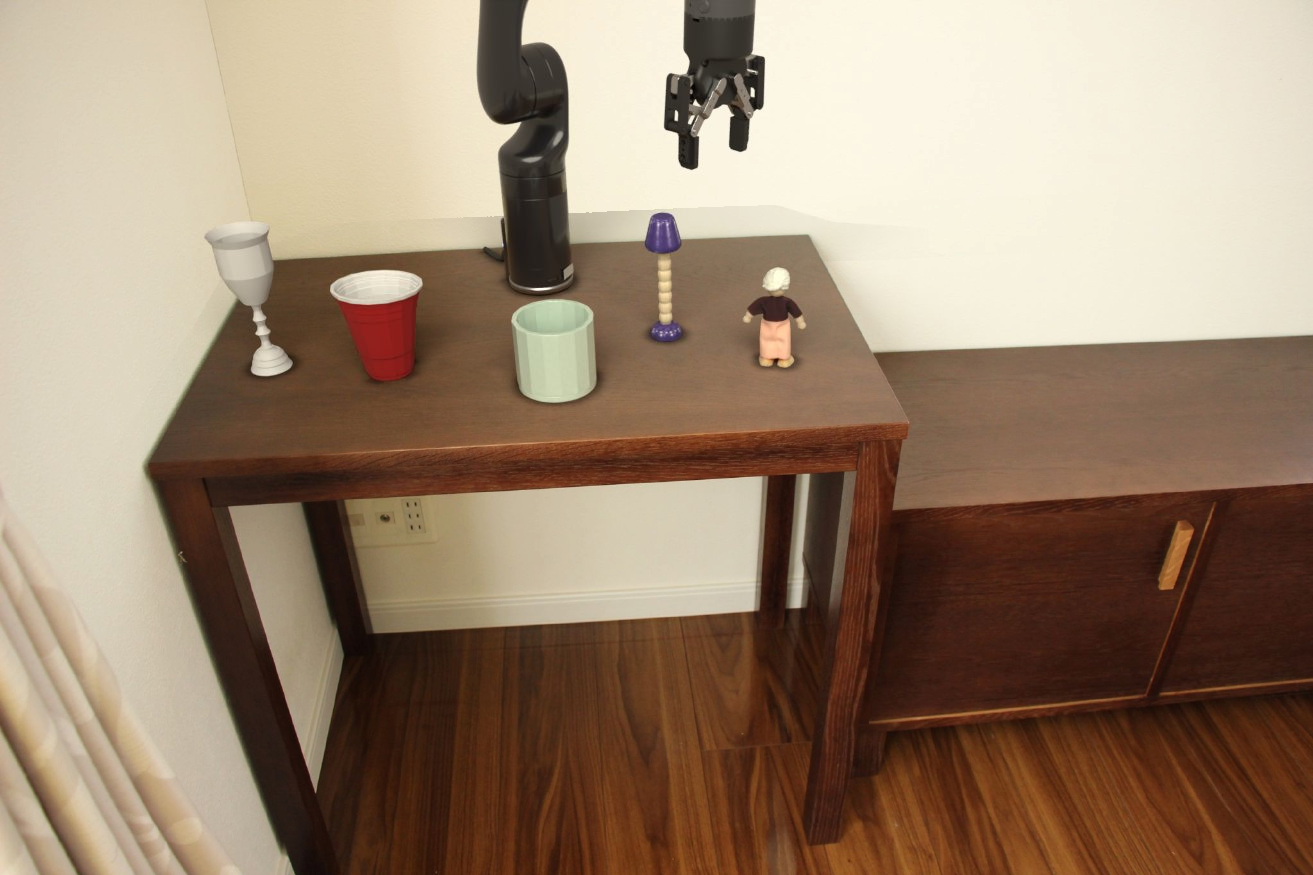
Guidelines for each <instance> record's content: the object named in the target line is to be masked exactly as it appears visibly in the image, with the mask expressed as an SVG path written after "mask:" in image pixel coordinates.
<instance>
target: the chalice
mask: <svg viewBox="0 0 1313 875" xmlns="http://www.w3.org/2000/svg"><path fill="white" fill-rule="evenodd" d="M269 232H270V225H269V224H268V223H266V222H262V221H254V220H251V221H250V220H249V221H248V220H247V221H244V220H243V221H237V222H230V223H225V224H222V225H218V226H215V227H213V228H212V229H209V230H208V231H206V233H204V235H203V236H204V237H203V238H204V239H205V241H206V242H208V244H209V245H210V246H211V250H212V253H213V256H214V260H215V264H216V267H217V270H218V274H219V277H220V278H221V279H222V281H223V283H224V284H225V285H226V286H227V288H228V289H229V290H230V291H231V292H232V293H233V295H234V296H235V297H236V298H237V299H238V300H239V301H240V302H241V303H242V304H243V305H244V306H248V307H251V310H253V317H252V321H253V322H254V323H255V325H256V326H257V328H256V329H257V330H256V332H255V335H256V336H258V338H259V339H260V341H261V343H260V344H261V345H260V347H258V348H257V349H256V350H255V352H254V353H253V358H252V361H251V363H252V364H251V367H250V372H251V373H252V374H253V375H256V376H260V377H270V376H271V377H272V376H276V375H280V374H283V373H285V372H286V371H288V370H290V369H291V368H292V366H293V365H294V364H293V360H292V359H291V358H290V357H289V355H288V354H287V353H286V352H285V350H284V349H283V348H282V347H280V346H278V345H275V344H273V343H272V342H271V340H270V334H271V329H269V328H268V327H267V325H266V319H267V316H266V315H265V314H264V312H263V310H262V304H264V303H265V302H267V301H268V298H269V296H270V291H271V288H272V285H273V279H274V270H275V263H274V258H273V256H272V251H271V247H270V243H269V239H268V238H269Z"/></svg>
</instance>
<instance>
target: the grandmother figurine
mask: <svg viewBox="0 0 1313 875" xmlns="http://www.w3.org/2000/svg"><path fill="white" fill-rule="evenodd" d="M790 284H791V275H790V272H789V271H788V270H787V269H786V268H784V267H779V266H777V267H773V268H771V269H769V270H768V271H767V272H766V274H765V275H764V277H763V279H762V285H761V287H762V288H764V289H765V290H766V292H767V293H768V294H769V295H763V296H761V297H758V298H757V299H755V300H754V301H752V302H751V304H749V306H747V308H746V312H745V315H744V316H743V317H742V321H743V323H745V324H750V323H751V321H752V319H753V318H754V317H755V316H759V315H762V317H761V320H760V327H759V357H758V362H759V365H760V366H761V367H771V366H773V364H774V362H775V359H778V360H777V363H776V365H777V367H779V368H789V367H791V365H793V364H794V362H795V358H794V356H793V355H792V354H791V351H792V350H791V348H792V342H791V341H792V340H791V339H792V338H791V337H792V336H791V335H792V334H791V321H790V317H789V315H791V317H792V318H793V319H794V320H795V323H796V324H797V328H798V330H800V331H803V330H805V329H806V328H807V324H806V322H805V319H804V315H803V311H802V310H801V308H800V307H799V305H798V304H797V303H796V302H795V301H794V300H793V299H792V298H791V297H788V296H784V295H785V294H786V293H787V291H788V289H790Z"/></svg>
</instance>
